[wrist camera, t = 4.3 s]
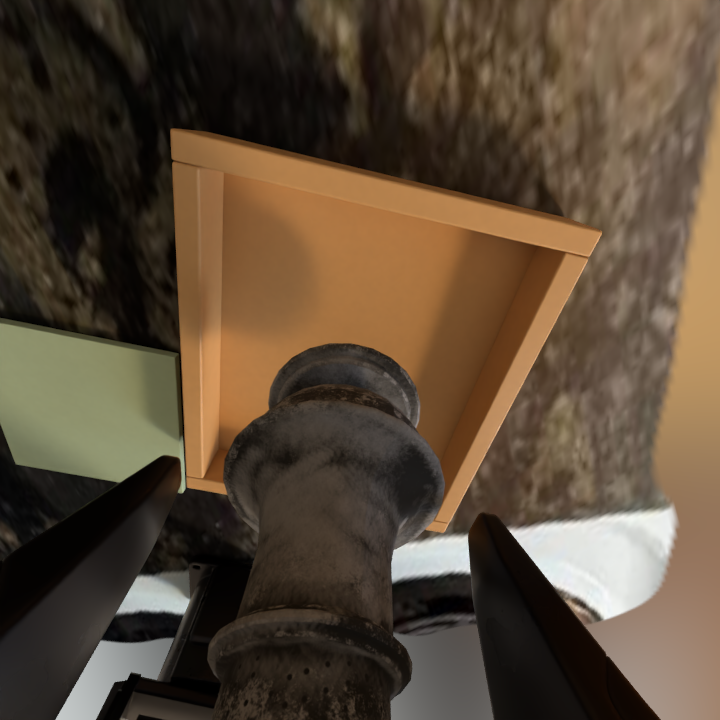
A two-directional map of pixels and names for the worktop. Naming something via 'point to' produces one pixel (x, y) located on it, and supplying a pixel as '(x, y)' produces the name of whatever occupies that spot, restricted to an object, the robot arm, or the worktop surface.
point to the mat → (87, 402)
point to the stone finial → (325, 539)
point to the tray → (357, 292)
